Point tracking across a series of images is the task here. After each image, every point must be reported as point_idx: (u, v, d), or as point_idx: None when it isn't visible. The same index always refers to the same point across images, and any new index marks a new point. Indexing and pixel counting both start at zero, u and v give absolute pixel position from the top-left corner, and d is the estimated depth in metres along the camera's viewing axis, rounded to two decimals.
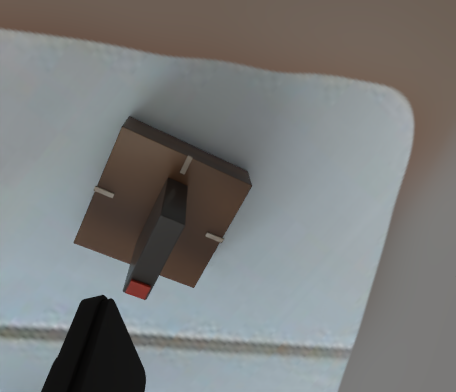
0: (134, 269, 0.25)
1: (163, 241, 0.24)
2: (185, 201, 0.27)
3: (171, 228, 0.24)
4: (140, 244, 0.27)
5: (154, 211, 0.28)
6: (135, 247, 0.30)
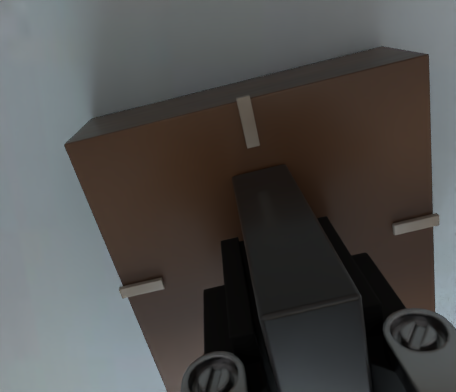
0: None
1: (328, 378, 0.07)
2: (304, 205, 0.09)
3: (323, 334, 0.06)
4: None
5: None
6: None
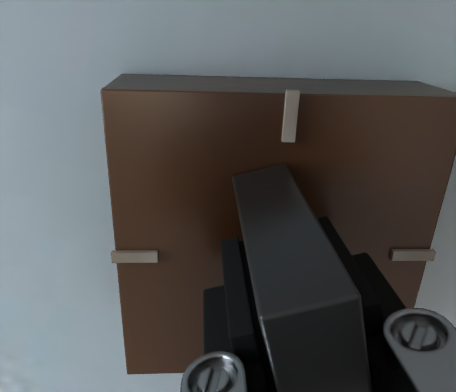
0: None
1: (328, 377, 0.07)
2: (304, 205, 0.09)
3: (322, 333, 0.06)
4: None
5: None
6: None
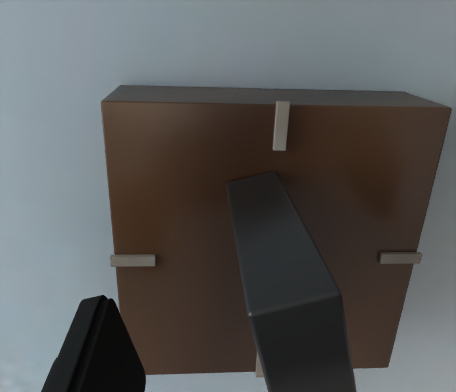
0: None
1: (313, 370, 0.07)
2: (293, 210, 0.10)
3: (307, 328, 0.07)
4: None
5: None
6: None
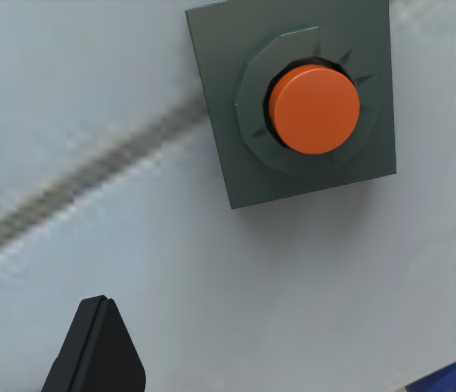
0: None
1: None
2: None
3: None
4: None
5: None
6: None
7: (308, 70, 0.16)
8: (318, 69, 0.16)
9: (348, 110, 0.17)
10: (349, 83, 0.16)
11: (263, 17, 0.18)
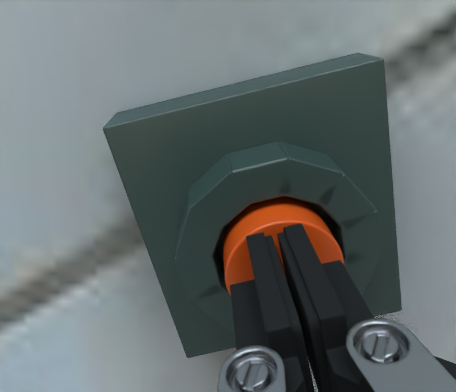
0: None
1: None
2: None
3: None
4: None
5: None
6: None
7: (269, 222, 0.11)
8: (283, 221, 0.11)
9: None
10: (328, 237, 0.12)
11: (213, 132, 0.13)
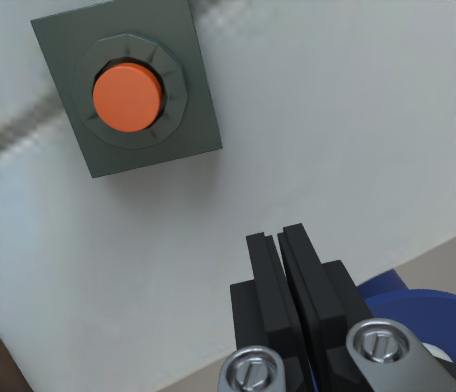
0: None
1: None
2: None
3: None
4: None
5: None
6: None
7: (113, 67, 0.22)
8: (120, 67, 0.21)
9: (150, 98, 0.22)
10: (147, 77, 0.22)
11: (93, 25, 0.23)
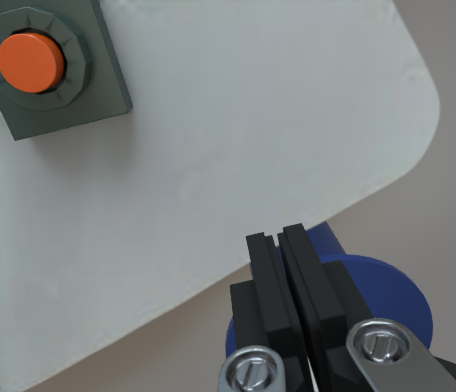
0: None
1: None
2: None
3: None
4: None
5: None
6: None
7: (13, 35, 0.25)
8: (19, 34, 0.25)
9: (47, 61, 0.26)
10: (42, 43, 0.25)
11: (3, 2, 0.27)
